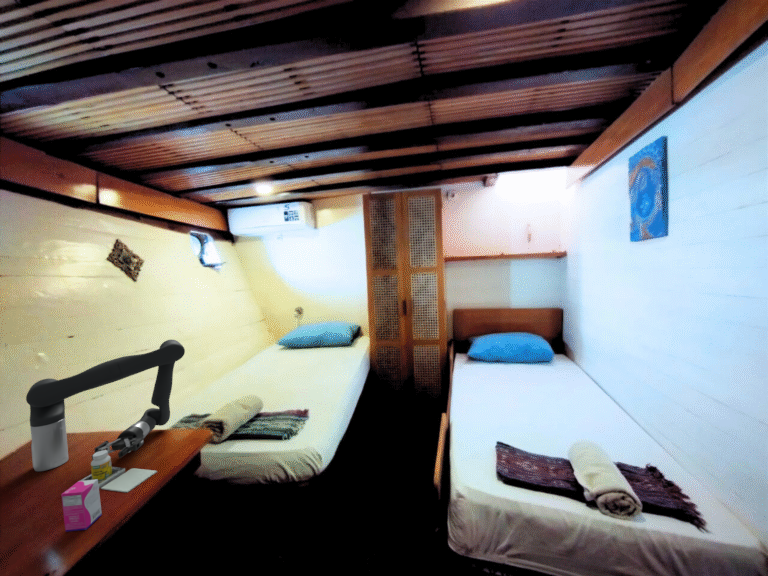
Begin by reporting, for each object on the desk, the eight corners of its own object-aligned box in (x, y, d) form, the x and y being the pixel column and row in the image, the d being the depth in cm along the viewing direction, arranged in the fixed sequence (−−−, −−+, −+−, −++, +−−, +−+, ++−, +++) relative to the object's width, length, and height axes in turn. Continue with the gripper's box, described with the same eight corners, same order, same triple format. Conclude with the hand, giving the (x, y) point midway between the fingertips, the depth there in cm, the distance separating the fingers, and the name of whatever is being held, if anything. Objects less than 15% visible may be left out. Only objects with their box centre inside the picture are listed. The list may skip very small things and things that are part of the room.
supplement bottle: (113, 472, 116) (111, 447, 116) (110, 480, 112) (108, 453, 111) (94, 477, 113) (91, 452, 113) (90, 486, 109) (88, 459, 109)
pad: (101, 489, 107) (101, 487, 107) (132, 469, 118) (132, 468, 118) (127, 492, 105) (127, 491, 105) (157, 471, 116) (157, 470, 116)
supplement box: (81, 516, 95) (78, 480, 94) (102, 514, 95) (99, 478, 95) (63, 532, 89) (60, 493, 89) (86, 530, 90) (83, 491, 89)
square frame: (78, 485, 109) (77, 481, 109) (105, 469, 118) (105, 465, 118) (98, 488, 107) (98, 484, 107) (125, 472, 116) (124, 468, 116)
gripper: (114, 427, 130) (83, 449, 114) (152, 423, 132) (127, 444, 116) (115, 445, 130) (85, 469, 114) (153, 441, 132) (128, 464, 116)
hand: (106, 456), depth 115 cm, fingers open, 8 cm apart
